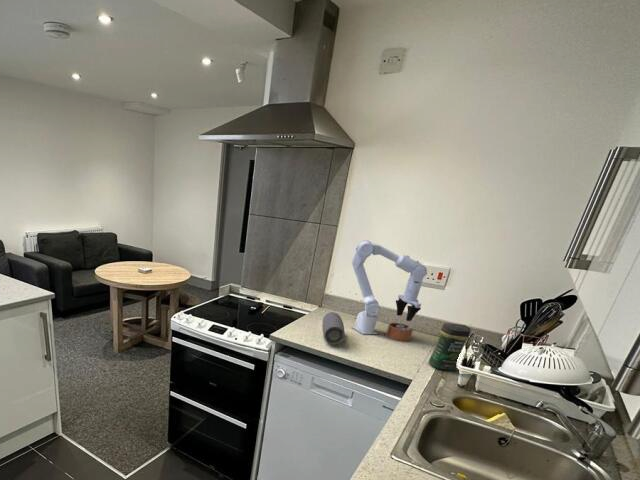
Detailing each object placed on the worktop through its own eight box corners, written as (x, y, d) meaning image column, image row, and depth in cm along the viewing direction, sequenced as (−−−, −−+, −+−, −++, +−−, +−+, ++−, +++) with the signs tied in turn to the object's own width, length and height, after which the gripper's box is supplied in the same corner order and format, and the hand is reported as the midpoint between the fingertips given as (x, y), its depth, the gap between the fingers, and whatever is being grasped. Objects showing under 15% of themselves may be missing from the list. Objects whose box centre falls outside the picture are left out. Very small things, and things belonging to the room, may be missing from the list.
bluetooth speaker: (319, 329, 192) (323, 309, 188) (339, 332, 190) (344, 312, 186) (320, 345, 172) (325, 323, 168) (342, 348, 170) (348, 327, 166)
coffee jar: (434, 370, 156) (450, 326, 149) (425, 361, 163) (440, 319, 156) (459, 372, 156) (476, 329, 148) (448, 364, 163) (464, 322, 156)
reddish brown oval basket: (407, 343, 183) (411, 332, 181) (383, 336, 189) (386, 326, 186) (412, 335, 194) (416, 325, 191) (389, 330, 199) (392, 319, 197)
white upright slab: (392, 332, 191) (399, 318, 186) (394, 332, 192) (401, 318, 187) (405, 340, 186) (412, 326, 182) (407, 339, 187) (414, 325, 182)
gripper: (430, 294, 175) (421, 323, 180) (410, 286, 188) (402, 313, 193) (416, 294, 174) (407, 322, 179) (397, 285, 187) (389, 312, 192)
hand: (403, 317), depth 186 cm, fingers open, 7 cm apart
